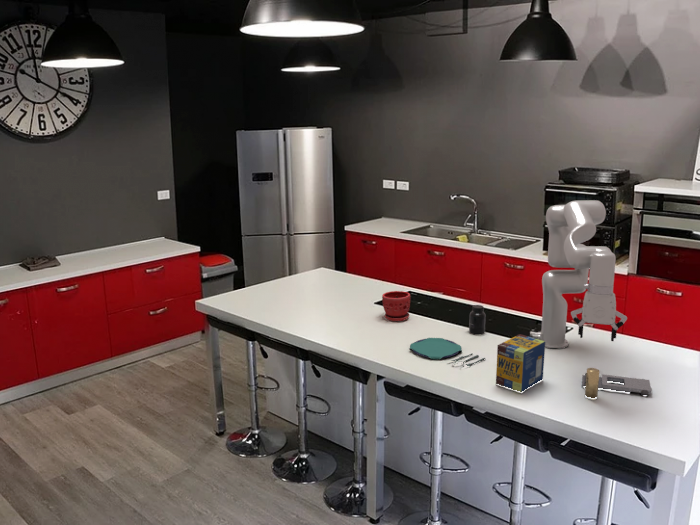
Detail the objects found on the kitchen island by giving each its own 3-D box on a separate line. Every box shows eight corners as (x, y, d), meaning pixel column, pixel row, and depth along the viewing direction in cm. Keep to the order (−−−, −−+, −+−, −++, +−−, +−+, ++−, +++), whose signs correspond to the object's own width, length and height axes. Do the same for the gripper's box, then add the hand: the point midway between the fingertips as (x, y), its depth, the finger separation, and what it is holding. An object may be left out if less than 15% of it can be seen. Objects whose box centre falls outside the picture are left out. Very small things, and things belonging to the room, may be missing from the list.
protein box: (495, 385, 223) (496, 344, 219) (518, 372, 233) (520, 333, 230) (521, 394, 216) (523, 352, 212) (543, 380, 226) (546, 340, 222)
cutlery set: (435, 338, 269) (435, 333, 268) (489, 361, 246) (490, 355, 245) (401, 350, 257) (401, 345, 257) (454, 375, 234) (454, 369, 234)
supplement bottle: (467, 333, 274) (467, 307, 271) (471, 328, 279) (472, 303, 277) (482, 336, 270) (483, 309, 268) (486, 331, 276) (487, 305, 273)
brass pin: (584, 399, 211) (586, 371, 209) (584, 394, 215) (586, 367, 213) (597, 400, 210) (599, 373, 208) (597, 395, 214) (599, 368, 211)
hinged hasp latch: (581, 388, 219) (582, 382, 219) (582, 377, 228) (582, 371, 227) (650, 397, 212) (651, 391, 211) (648, 385, 220) (649, 379, 220)
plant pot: (410, 314, 300) (410, 290, 298) (410, 323, 288) (410, 298, 285) (383, 313, 302) (382, 289, 299) (381, 322, 289) (381, 298, 286)
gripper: (572, 289, 204) (568, 339, 208) (630, 294, 198) (625, 345, 202) (572, 283, 211) (569, 332, 215) (628, 288, 204) (624, 337, 208)
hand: (596, 338), depth 208 cm, fingers open, 9 cm apart
